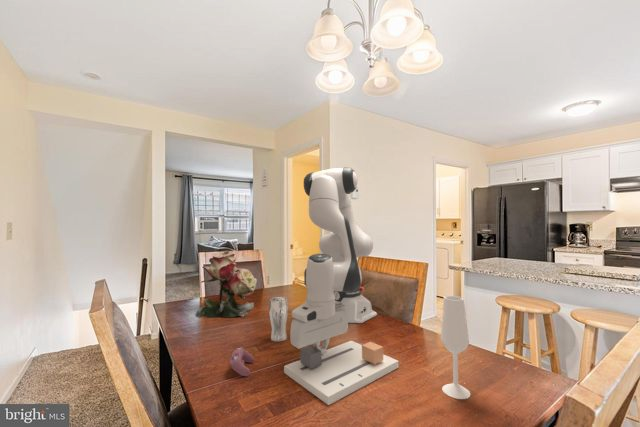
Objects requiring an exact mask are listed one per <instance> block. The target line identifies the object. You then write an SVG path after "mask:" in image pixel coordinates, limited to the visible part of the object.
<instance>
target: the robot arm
mask: <svg viewBox="0 0 640 427" xmlns="http://www.w3.org/2000/svg"><path fill="white" fill-rule="evenodd" d="M357 186H358V176H357V174H356V172H355V170H354V169H353V168H352V167H347V166H346V167H345V166H344V167H338V168H337V167H336V168H328V169H323V170H319V171H312V172H309V173H307V174H306V175H305V177H304V178H303V190H304V192H305V194H306V195H307V196H308V216H309V219H310V221H311V222H312V223H313V225H315V226H317V227H319V229H322V230H325V231H328V232H330V233H326V234H323V235H322V236H321V238H320V239H319V241H318V247H319V250H320V253H315V254H312V255H310V256H309V257H307V263H306V268H305V269H304V272H303V274H304V278H303V279H304V281H303V282H304V286H305V287H306V290H307V292H306V296H305V301H303V303H302V304H301V305H299V306H297V307H295V308H294V309H293V310H292V311H291V317H292V318H293V319H292V321H291V324H290V331H289V332H290V335H289V337H290V338H289V339H290V340H289V341H290V343H291V345H292V346H293V347H295V348H296V349H302V348H305V347H308V346H313V347H315V348H317V349H319V350H321V354H322V355H323V354H325V353H327V350H328V349H327V348H328V347H329V344H330V341H331V340H330V339H331V338H333V337H334V338H335V337H338V336H340V335H342V334H346V333H347V332H348V330H349V324H350V323H351V324H352V323H353V324H354V323H355V324H362V323H364V322H366V321H368V320H370V319H372V318H374V317H376V316H378V313H377V312H376V311H375V310H373V308H372V303H371V301H370V300H369V299H367V298H366V297H365V296H364V295H363V294H362V293H361V292H365V289H366V287H364V286H362V281H363V277H362V276H363V275H362V270H361V267H360V266H359V262H358V259H357V258H363V257H369V255H371V253H372V251H373V248H374V243H373V239H372V238H371V236H370V235H369V234H367V233H365V231H363V230H362V229H361V228H360V226H359V225H358V224H357V222H356V220H355V217H354V213H353V207H352V201H351V198H350V195H351V193H354V192H355V191H356V189H357ZM321 342H322V343H321ZM320 345H321V346H320Z"/></svg>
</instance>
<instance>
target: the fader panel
mask: <svg viewBox="0 0 640 427" xmlns="http://www.w3.org/2000/svg"><path fill="white" fill-rule="evenodd" d="M362 345H363V344H361V343H358V342H356V341H353V340H349V341H346V342H344V343H341V344H338V345H336V346H334V347H331V348H328V349H327V353H325V354H323V355H322V365H320V366H317V367H315V368H313V369H310V368H308V367H306V366H305V365H303V364H302V363H301V359H299V360H296V361H292V362H290V363H288V364H286V365H283V366H284V367H283V374H285V375H286V376H288V377H289V378H291V379H292V380H294V382H296V383H297V384H299V385H301V387H303V388H304V389H305V390H307V391H308V392H309V393H311V394H312V395H314V396H315V397H317V398H318V399H319V400H321V401H322V402H323V403H324V404H326V405H327V406H330V405H331V404H334V403H336V402H337V401H339V400H341V399H342V398H345V397H346V396H349V395H350V394H352V393H354V392H356V391H358V390H360V389H362V388H364V387H365V386H368V385H369V384H371V383H373V382H375V381H376V380H378V379H380V378H382V377H384V376H386V375H388V374H389V373H391V372H393V371H395V370H397V369H398V368H399V367H400V366H399V362H400V361H399V359H398V360H397V359H395V358H393V357H391V356H388V355H386V354H384V353H383V361H381V362H379V363H377V364H372V363H370V362H368V361H366V360H364V359H362Z"/></svg>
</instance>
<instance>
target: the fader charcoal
mask: <svg viewBox="0 0 640 427" xmlns="http://www.w3.org/2000/svg"><path fill="white" fill-rule="evenodd" d="M300 360H301V363H302V364H303V365H305V366H306V367H308V368H310V369H313V368H315V367H317V366H320V365H322V354H321V350H319V349H317V348H315V347H314V346H313V345H308V346H305V347H303V348H300Z"/></svg>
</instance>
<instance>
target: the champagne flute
mask: <svg viewBox="0 0 640 427" xmlns="http://www.w3.org/2000/svg"><path fill="white" fill-rule="evenodd" d="M442 302H443V305H442V315H441V316H442V317H441V327H440V328H441V330H440V341H441V343H442V345H443V346H444V347H445V348H446V349H447V350H448V351H449V352H450V353H451V354H452V378H453V379H452V383H448V384H444V385H443V386H442V388H441V389H442V392H443V393H444V394H445V395H447V396H449V397H450V398H453V399H456V400H457V399H458V400H466V399H469V398H470V396H471V391H470V390H468V388H466V387H464V386H462V385H461V384H459V361H458V360H459V358H458V355H459V354H461V353H462V352H464V351H465V350H466V349H468V348H469V347H468V346H469V345H470V338H469V330H468V323H467V317H466V307H465V300H464V298H463V297H461V296H457V295H445V296H443V301H442Z"/></svg>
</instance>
